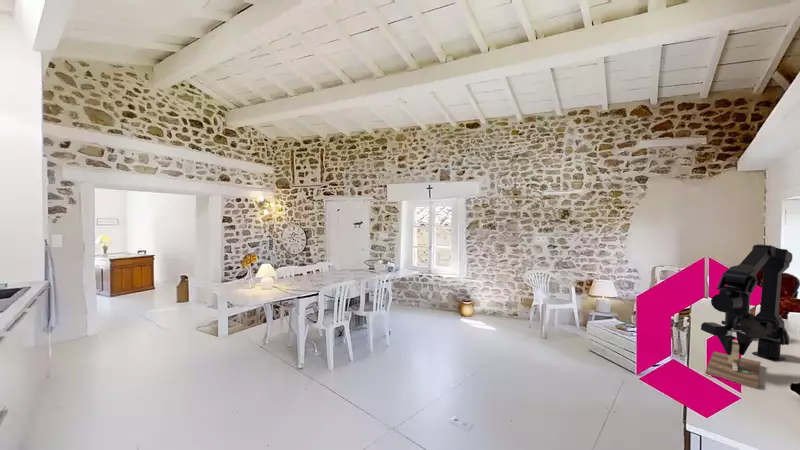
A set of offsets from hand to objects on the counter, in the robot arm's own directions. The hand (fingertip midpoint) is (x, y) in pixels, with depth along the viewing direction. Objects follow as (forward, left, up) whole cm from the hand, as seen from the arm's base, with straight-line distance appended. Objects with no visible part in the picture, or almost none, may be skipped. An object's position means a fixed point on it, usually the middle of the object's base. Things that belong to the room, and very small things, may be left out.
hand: (735, 354), depth 118 cm
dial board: (0, 0, -6) cm, 6 cm away
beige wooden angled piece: (+1, +1, -4) cm, 4 cm away
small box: (-40, -21, -6) cm, 46 cm away
